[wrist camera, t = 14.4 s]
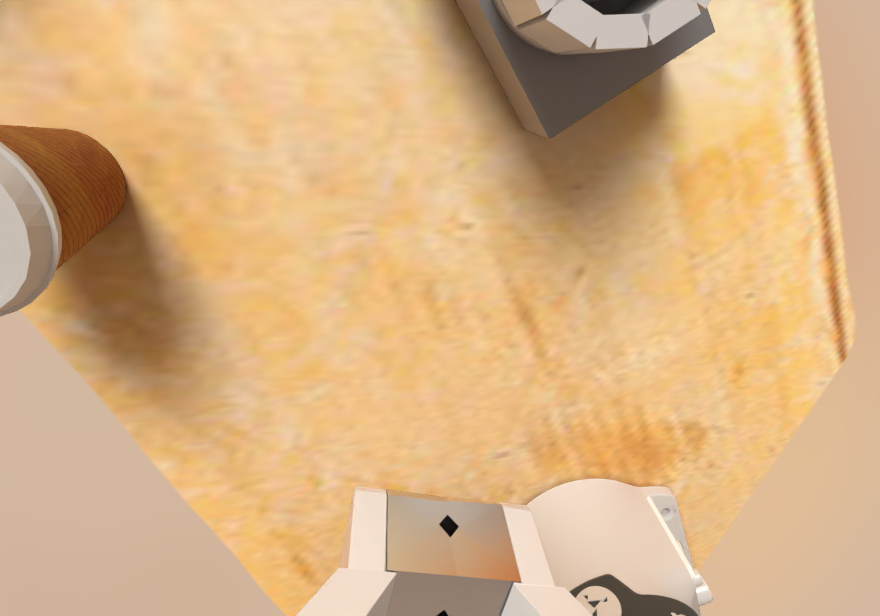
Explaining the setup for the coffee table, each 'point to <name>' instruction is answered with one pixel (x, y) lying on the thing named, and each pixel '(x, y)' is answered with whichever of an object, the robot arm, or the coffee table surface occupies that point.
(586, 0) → the white egg
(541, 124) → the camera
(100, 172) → the disposable coffee cup
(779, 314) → the coffee table surface
